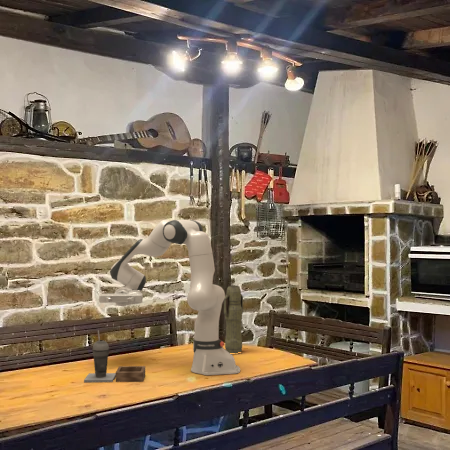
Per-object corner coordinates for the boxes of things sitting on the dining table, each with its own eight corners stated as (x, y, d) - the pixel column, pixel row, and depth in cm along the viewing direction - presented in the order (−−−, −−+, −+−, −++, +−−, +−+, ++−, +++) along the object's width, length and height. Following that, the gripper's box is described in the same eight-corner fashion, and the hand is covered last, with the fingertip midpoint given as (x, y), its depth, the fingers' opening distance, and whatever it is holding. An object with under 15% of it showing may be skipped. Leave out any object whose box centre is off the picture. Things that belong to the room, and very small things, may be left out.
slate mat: (116, 375, 269) (116, 373, 269) (112, 382, 257) (112, 379, 257) (88, 375, 268) (88, 373, 268) (83, 382, 256) (83, 380, 257)
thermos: (219, 353, 318) (219, 286, 318) (235, 350, 326) (235, 284, 326) (231, 355, 312) (231, 287, 312) (247, 352, 320) (247, 285, 320)
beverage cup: (105, 378, 259) (105, 331, 259) (89, 378, 260) (89, 331, 260) (111, 374, 266) (112, 329, 266) (96, 374, 267) (96, 328, 267)
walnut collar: (145, 375, 270) (145, 366, 270) (143, 381, 258) (143, 372, 258) (118, 375, 269) (118, 366, 269) (115, 381, 257) (115, 372, 257)
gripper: (101, 290, 294) (96, 293, 280) (143, 290, 295) (141, 293, 281) (101, 303, 294) (96, 307, 280) (143, 303, 295) (141, 306, 281)
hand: (119, 300), depth 280 cm, fingers open, 8 cm apart
